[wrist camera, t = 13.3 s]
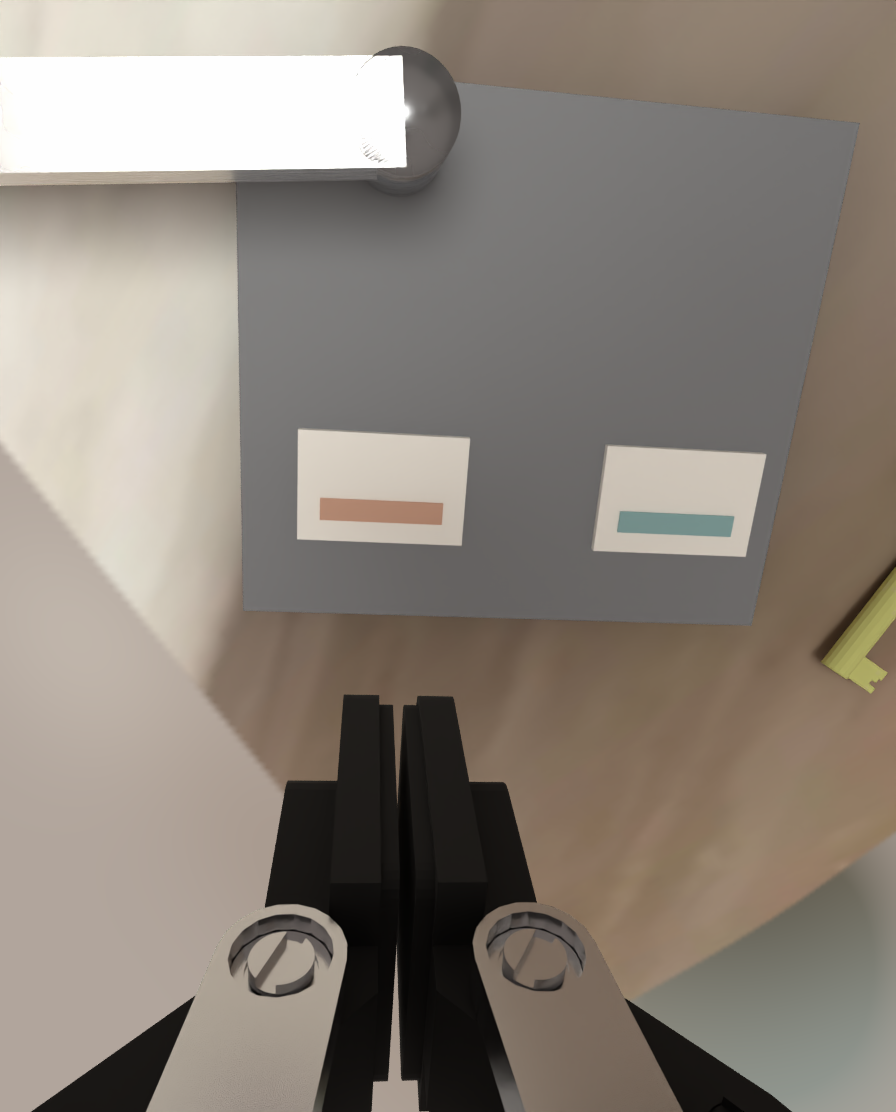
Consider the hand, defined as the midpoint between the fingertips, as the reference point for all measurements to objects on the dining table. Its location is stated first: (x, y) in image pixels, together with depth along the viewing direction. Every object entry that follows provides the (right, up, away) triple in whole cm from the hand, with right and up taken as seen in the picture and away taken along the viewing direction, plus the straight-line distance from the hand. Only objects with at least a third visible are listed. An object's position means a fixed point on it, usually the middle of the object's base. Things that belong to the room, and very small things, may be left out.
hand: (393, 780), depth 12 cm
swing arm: (-8, +16, +12) cm, 21 cm away
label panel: (+4, +10, +17) cm, 20 cm away
